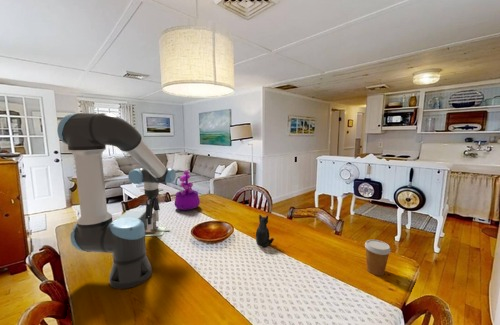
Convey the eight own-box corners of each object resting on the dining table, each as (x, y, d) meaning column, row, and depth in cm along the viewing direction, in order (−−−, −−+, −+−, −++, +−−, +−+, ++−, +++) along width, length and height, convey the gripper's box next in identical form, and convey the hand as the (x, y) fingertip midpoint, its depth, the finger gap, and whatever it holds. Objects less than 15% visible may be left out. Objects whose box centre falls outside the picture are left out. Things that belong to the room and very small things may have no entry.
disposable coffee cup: (388, 281, 89) (390, 252, 88) (361, 273, 94) (363, 246, 93) (388, 269, 97) (391, 242, 96) (364, 262, 102) (365, 237, 101)
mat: (162, 235, 129) (162, 235, 129) (143, 236, 127) (143, 235, 127) (166, 227, 140) (166, 227, 140) (149, 228, 138) (149, 227, 138)
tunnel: (167, 236, 128) (166, 217, 126) (104, 239, 123) (102, 219, 122) (172, 226, 141) (171, 209, 140) (115, 229, 137) (114, 211, 136)
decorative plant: (186, 214, 163) (184, 173, 159) (169, 209, 173) (167, 170, 169) (204, 207, 178) (204, 169, 174) (188, 203, 188) (187, 167, 184)
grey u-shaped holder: (154, 233, 130) (153, 216, 129) (125, 234, 128) (123, 217, 127) (158, 228, 137) (157, 212, 136) (130, 229, 135) (128, 213, 134)
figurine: (274, 241, 123) (275, 214, 121) (272, 250, 113) (273, 221, 111) (257, 239, 124) (257, 213, 123) (253, 248, 115) (253, 219, 113)
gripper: (152, 193, 119) (154, 233, 122) (163, 183, 142) (165, 217, 145) (137, 194, 118) (139, 234, 121) (150, 184, 141) (152, 217, 144)
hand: (153, 225), depth 133 cm, fingers open, 11 cm apart
